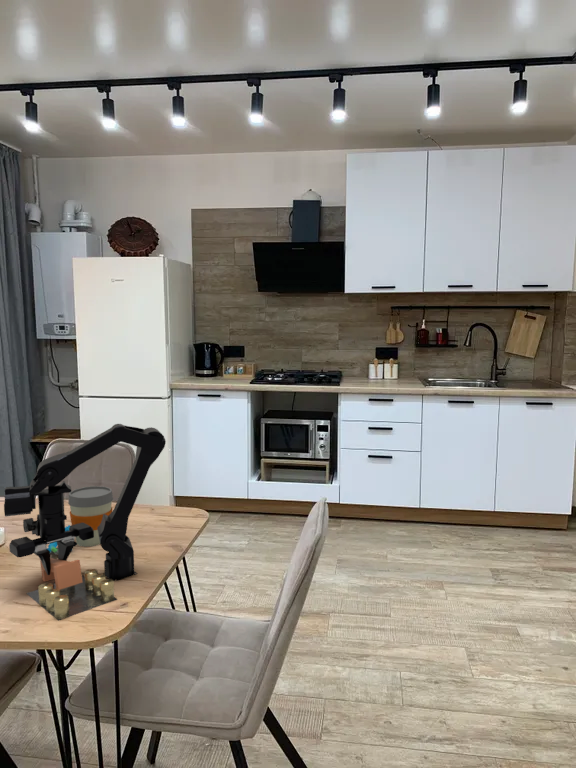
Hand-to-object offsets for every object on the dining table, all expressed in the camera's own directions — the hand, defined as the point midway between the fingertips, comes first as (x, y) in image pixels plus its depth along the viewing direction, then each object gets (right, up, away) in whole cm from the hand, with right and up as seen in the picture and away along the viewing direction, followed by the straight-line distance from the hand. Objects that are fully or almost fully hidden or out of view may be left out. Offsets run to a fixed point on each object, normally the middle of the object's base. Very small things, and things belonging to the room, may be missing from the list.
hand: (54, 572), depth 144 cm
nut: (+4, -3, -4) cm, 6 cm away
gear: (-7, -2, +20) cm, 22 cm away
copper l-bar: (+2, -2, -2) cm, 3 cm away
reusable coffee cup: (-1, -1, +30) cm, 30 cm away
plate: (+7, -4, -6) cm, 10 cm away
